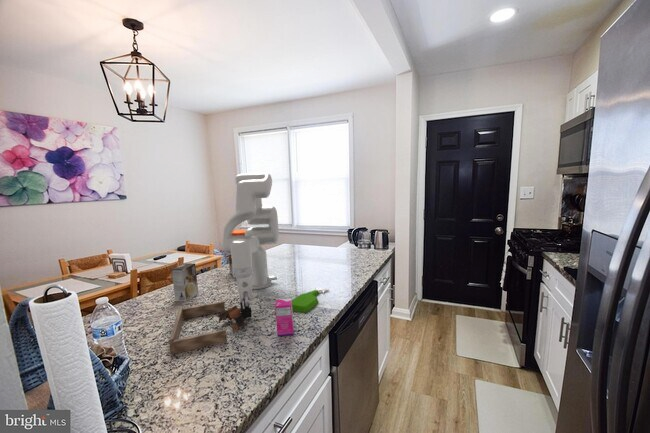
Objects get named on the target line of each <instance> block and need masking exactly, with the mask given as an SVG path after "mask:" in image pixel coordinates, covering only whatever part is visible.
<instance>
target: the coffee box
mask: <svg viewBox="0 0 650 433" xmlns="http://www.w3.org/2000/svg"><path fill="white" fill-rule="evenodd" d="M196 268H197V267H196V263H190V262H189V263H185V262H184V263H182V264H179V265H177V266H176V267H175V266H174V267H173V268H171V276H172V277H171V278H172V287H173V292H174V293H173V294H174V300H175V302H188V301H189V300H191V299H193V298H194V297H196V296H197V295H199V287H198V276H197V269H196Z"/></svg>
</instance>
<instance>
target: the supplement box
mask: <svg viewBox="0 0 650 433" xmlns="http://www.w3.org/2000/svg"><path fill="white" fill-rule="evenodd" d="M292 300H293V299H292V298H290V297H289V298H281V299H280V298H279V299H276V300H275V306H274V308H275V309H274V311H275V312H274V313H275V322H276V323H275V324H276V334H277V337H287V336H294V332H295V325H294V313H293V312H294V311H292Z"/></svg>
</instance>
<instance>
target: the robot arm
mask: <svg viewBox="0 0 650 433" xmlns="http://www.w3.org/2000/svg"><path fill="white" fill-rule="evenodd" d="M234 178H235V183H236V195H235V197H236V198H235V212H234V214H233V215H232V216H231V217H230V218H229V219H228V220H227V222H226V224H225V226H224V228H223V236H222V249H223V251H224V253H225V254H226V255H228V254H229V255H231V257H232V269H233V274H232V276H233V277H234V278H236V287H237V293H238V298H239V302H240V303H239V304H240V308H242V307H243V308H242V312H243V319H245V318H246V319H250V318H252V315H253V314H252V313H253V312H252V306H251V301H254V294H253V290H262V289H266V288H268V287H270V286H271V285H272V281H277V280H278V276H274V275H269V274H268V258H267V251H266V249H265V248H264V246H265V245H275V244H277V243H278V242H279V241H280V240H279V239H280V233H279V219H278V218H279V217H278V210H277V208H276V207H275V206H273V205H263V201H262V199H264V198H265V199H267V198H269V197H270V194H271V190H272V186H273V178H272V175H271V174H270V173H268V172H245V173H240V174H237V175H236V176H235V177H234ZM244 222H247V223H248V225H254V226H251V227H249V228H246V229H245V230H246V231H245V236H232V231H234V229H235V228H236V227H237V226H238V225H240V224H242V223H244ZM255 225H256V226H255ZM257 225H258V226H257ZM259 225H268V226H259ZM229 255H228V256H229Z"/></svg>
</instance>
